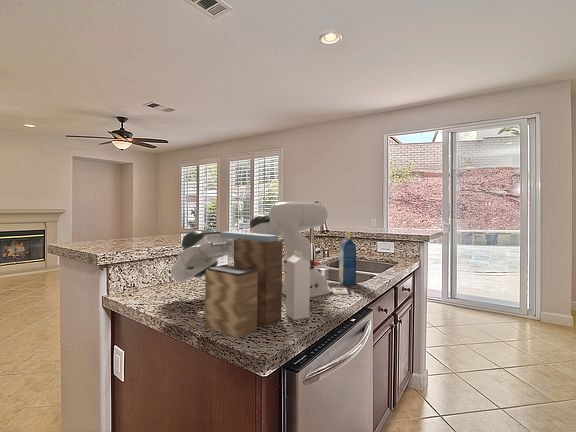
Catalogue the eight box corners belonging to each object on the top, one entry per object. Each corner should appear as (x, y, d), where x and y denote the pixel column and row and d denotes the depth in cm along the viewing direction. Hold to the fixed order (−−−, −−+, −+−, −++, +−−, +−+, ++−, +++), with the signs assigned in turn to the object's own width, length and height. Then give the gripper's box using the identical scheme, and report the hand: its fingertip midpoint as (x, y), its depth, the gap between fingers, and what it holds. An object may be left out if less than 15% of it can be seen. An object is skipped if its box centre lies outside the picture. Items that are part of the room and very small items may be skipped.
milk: (293, 320, 102) (294, 253, 102) (285, 314, 108) (285, 250, 107) (309, 317, 105) (310, 252, 104) (300, 311, 111) (301, 249, 110)
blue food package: (342, 286, 147) (343, 233, 147) (338, 280, 159) (339, 231, 159) (355, 286, 147) (357, 233, 147) (350, 280, 159) (351, 231, 159)
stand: (233, 317, 104) (233, 239, 104) (249, 310, 111) (250, 237, 110) (265, 327, 96) (266, 242, 95) (281, 319, 103) (282, 240, 102)
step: (205, 326, 96) (205, 268, 95) (224, 319, 103) (224, 264, 102) (238, 338, 88) (238, 274, 87) (257, 329, 94) (257, 269, 94)
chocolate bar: (346, 283, 151) (351, 293, 133) (346, 285, 151) (351, 295, 133) (327, 282, 151) (330, 293, 133) (327, 284, 151) (330, 295, 133)
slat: (220, 237, 110) (220, 232, 110) (229, 236, 114) (229, 231, 113) (269, 242, 97) (269, 236, 97) (277, 240, 101) (278, 235, 101)
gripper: (222, 262, 127) (244, 247, 120) (179, 270, 110) (202, 253, 103) (217, 248, 128) (239, 232, 121) (174, 253, 112) (195, 236, 105)
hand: (221, 242), depth 112 cm, fingers open, 8 cm apart
